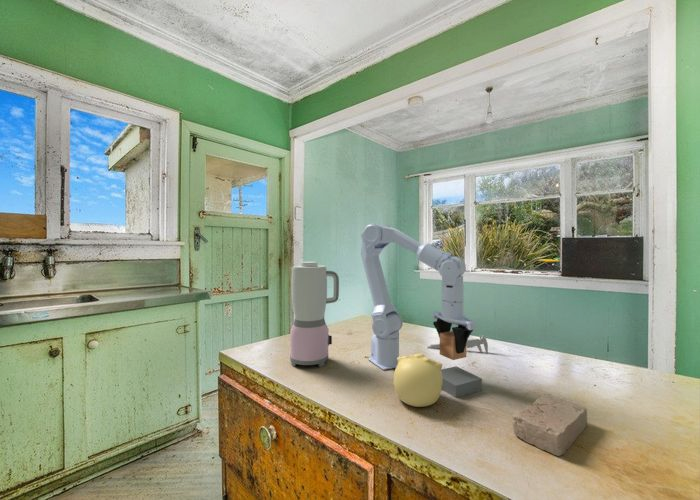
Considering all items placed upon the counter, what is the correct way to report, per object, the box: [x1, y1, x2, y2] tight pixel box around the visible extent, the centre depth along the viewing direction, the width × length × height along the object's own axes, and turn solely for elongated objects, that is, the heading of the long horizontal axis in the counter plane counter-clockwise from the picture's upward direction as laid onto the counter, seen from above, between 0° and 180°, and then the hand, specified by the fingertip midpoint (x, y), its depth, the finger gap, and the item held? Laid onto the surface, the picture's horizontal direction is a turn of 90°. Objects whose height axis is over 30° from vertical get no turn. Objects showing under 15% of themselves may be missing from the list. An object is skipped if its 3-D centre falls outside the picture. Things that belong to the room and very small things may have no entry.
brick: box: [512, 393, 588, 457], centre depth 63 cm, size 17×8×5 cm, turn 128°
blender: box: [289, 261, 340, 368], centre depth 100 cm, size 16×12×32 cm
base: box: [441, 365, 483, 399], centre depth 82 cm, size 9×9×3 cm
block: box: [439, 330, 467, 361], centre depth 86 cm, size 5×5×6 cm
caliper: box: [426, 335, 489, 354], centre depth 110 cm, size 20×1×6 cm, turn 75°
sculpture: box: [392, 352, 443, 408], centre depth 75 cm, size 12×12×11 cm
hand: (452, 349), depth 86 cm, fingers closed on block, 5 cm apart
